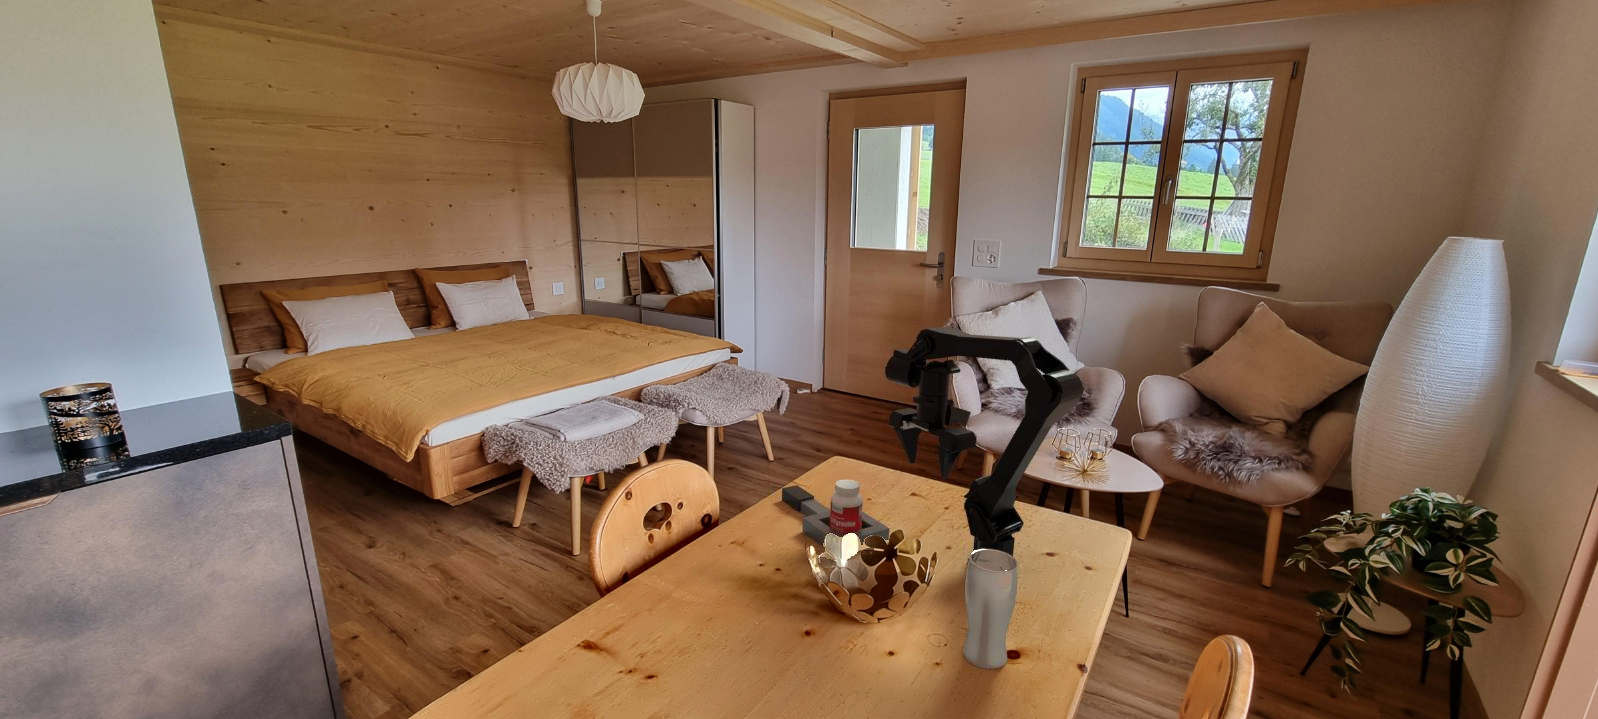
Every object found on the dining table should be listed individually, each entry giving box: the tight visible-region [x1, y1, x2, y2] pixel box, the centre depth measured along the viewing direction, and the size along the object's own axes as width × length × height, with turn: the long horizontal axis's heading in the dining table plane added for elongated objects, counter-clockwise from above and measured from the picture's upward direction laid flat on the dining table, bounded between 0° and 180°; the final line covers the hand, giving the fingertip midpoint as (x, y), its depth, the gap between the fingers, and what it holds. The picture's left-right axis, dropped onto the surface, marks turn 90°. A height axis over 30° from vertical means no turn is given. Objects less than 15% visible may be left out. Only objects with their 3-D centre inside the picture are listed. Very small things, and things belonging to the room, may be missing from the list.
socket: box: [781, 484, 890, 548], centre depth 140 cm, size 27×12×3 cm, turn 32°
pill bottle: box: [829, 479, 864, 535], centre depth 133 cm, size 6×6×11 cm
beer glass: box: [962, 549, 1019, 670], centre depth 97 cm, size 7×7×15 cm
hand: (928, 470), depth 134 cm, fingers open, 9 cm apart
